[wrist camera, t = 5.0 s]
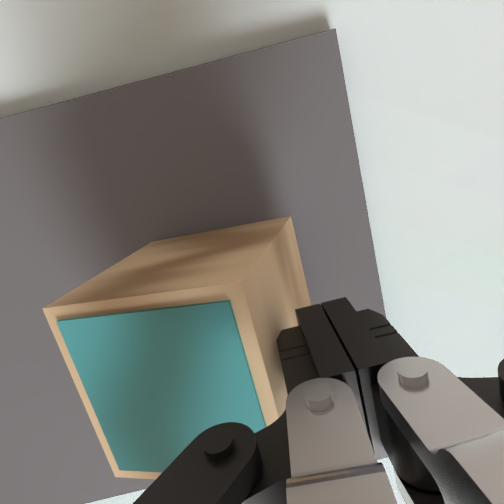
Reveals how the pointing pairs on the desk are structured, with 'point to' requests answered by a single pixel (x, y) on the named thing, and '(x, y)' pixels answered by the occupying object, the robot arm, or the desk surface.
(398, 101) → the desk surface
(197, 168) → the rubber mat
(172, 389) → the oak cube
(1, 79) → the desk surface
